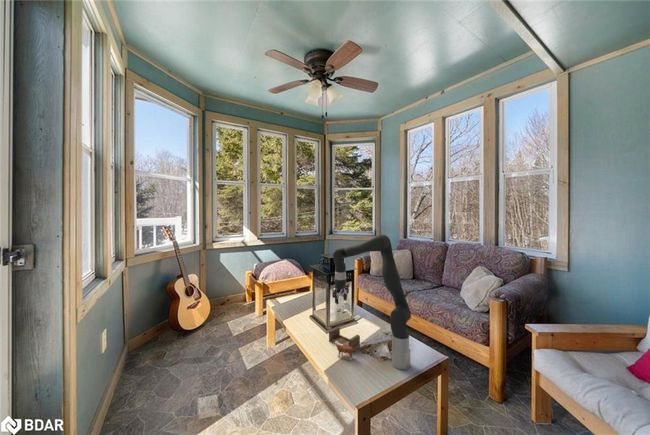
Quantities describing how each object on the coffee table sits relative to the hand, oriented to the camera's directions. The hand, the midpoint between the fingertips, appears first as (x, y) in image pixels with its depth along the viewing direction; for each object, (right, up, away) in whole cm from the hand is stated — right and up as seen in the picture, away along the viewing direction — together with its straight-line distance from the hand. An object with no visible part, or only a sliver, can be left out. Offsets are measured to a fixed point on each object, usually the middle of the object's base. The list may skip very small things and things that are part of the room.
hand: (341, 301), depth 169 cm
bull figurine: (0, -27, -18) cm, 33 cm away
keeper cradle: (+2, -27, -4) cm, 27 cm away
